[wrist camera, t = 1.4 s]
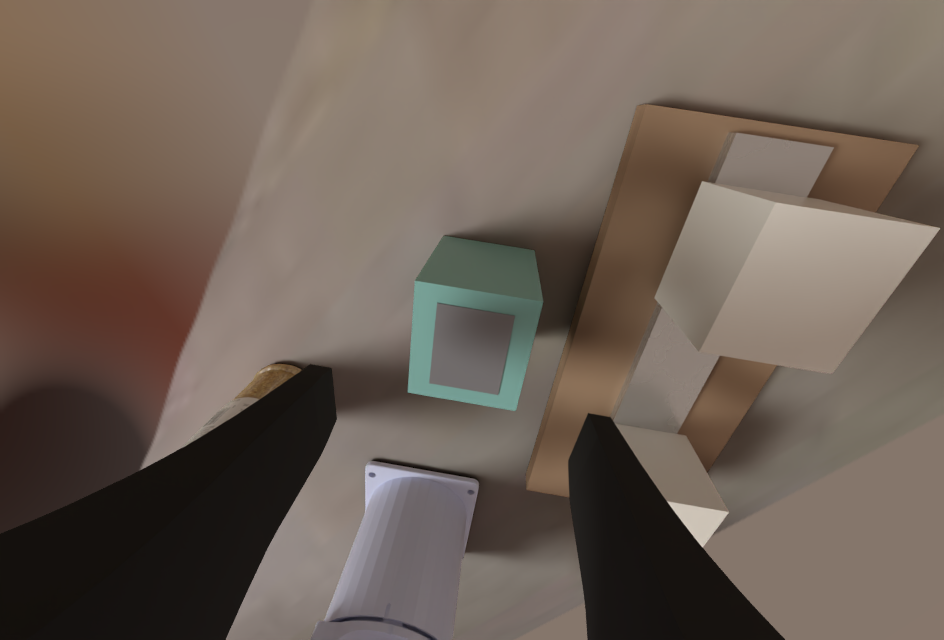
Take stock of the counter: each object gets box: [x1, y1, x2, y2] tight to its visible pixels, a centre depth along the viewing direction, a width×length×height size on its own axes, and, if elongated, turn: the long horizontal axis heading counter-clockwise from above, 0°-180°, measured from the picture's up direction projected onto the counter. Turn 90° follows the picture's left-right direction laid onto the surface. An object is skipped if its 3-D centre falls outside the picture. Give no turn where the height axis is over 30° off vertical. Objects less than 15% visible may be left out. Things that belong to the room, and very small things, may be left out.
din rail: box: [610, 132, 834, 434], centre depth 19 cm, size 21×4×1 cm, turn 172°
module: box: [408, 236, 543, 411], centre depth 17 cm, size 5×4×6 cm
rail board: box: [526, 104, 919, 497], centre depth 19 cm, size 22×10×1 cm, turn 172°
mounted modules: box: [615, 181, 940, 548], centre depth 16 cm, size 18×4×4 cm, turn 172°
